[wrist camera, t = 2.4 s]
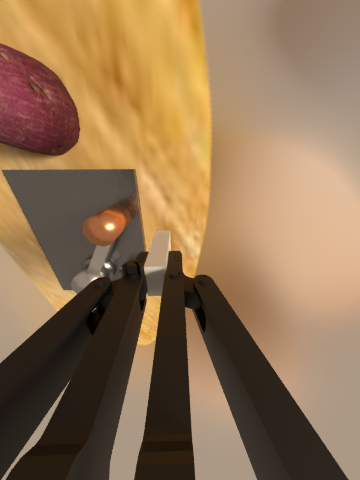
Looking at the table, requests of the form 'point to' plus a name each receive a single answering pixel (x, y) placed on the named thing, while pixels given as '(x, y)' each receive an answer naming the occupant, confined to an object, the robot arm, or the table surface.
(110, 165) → the table surface
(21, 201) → the base
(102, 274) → the lever
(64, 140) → the vegetable
